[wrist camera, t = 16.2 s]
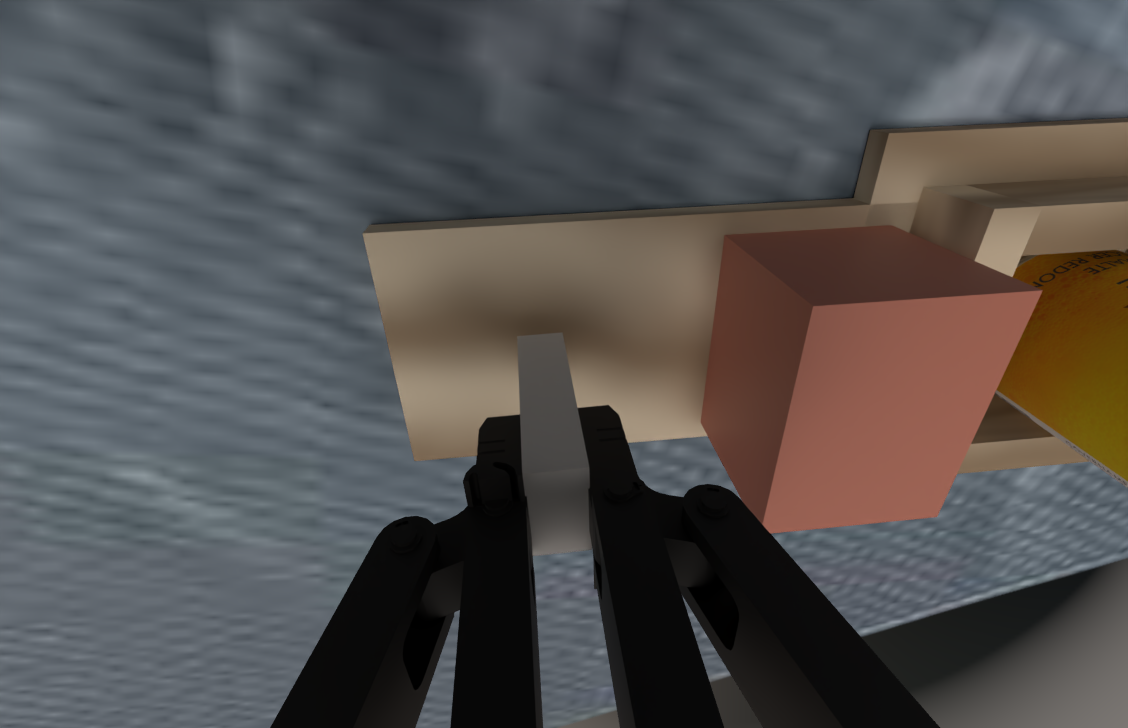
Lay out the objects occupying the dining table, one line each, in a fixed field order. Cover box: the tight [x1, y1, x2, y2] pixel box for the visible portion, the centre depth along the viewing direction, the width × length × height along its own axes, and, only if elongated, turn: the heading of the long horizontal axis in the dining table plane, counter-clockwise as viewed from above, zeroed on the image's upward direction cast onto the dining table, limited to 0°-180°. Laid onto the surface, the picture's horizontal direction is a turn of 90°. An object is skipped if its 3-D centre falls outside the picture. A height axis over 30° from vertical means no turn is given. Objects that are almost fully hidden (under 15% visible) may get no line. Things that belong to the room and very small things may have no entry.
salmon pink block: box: [701, 225, 1043, 533], centre depth 18 cm, size 8×6×6 cm
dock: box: [363, 118, 1128, 474], centre depth 19 cm, size 14×31×4 cm, turn 92°
